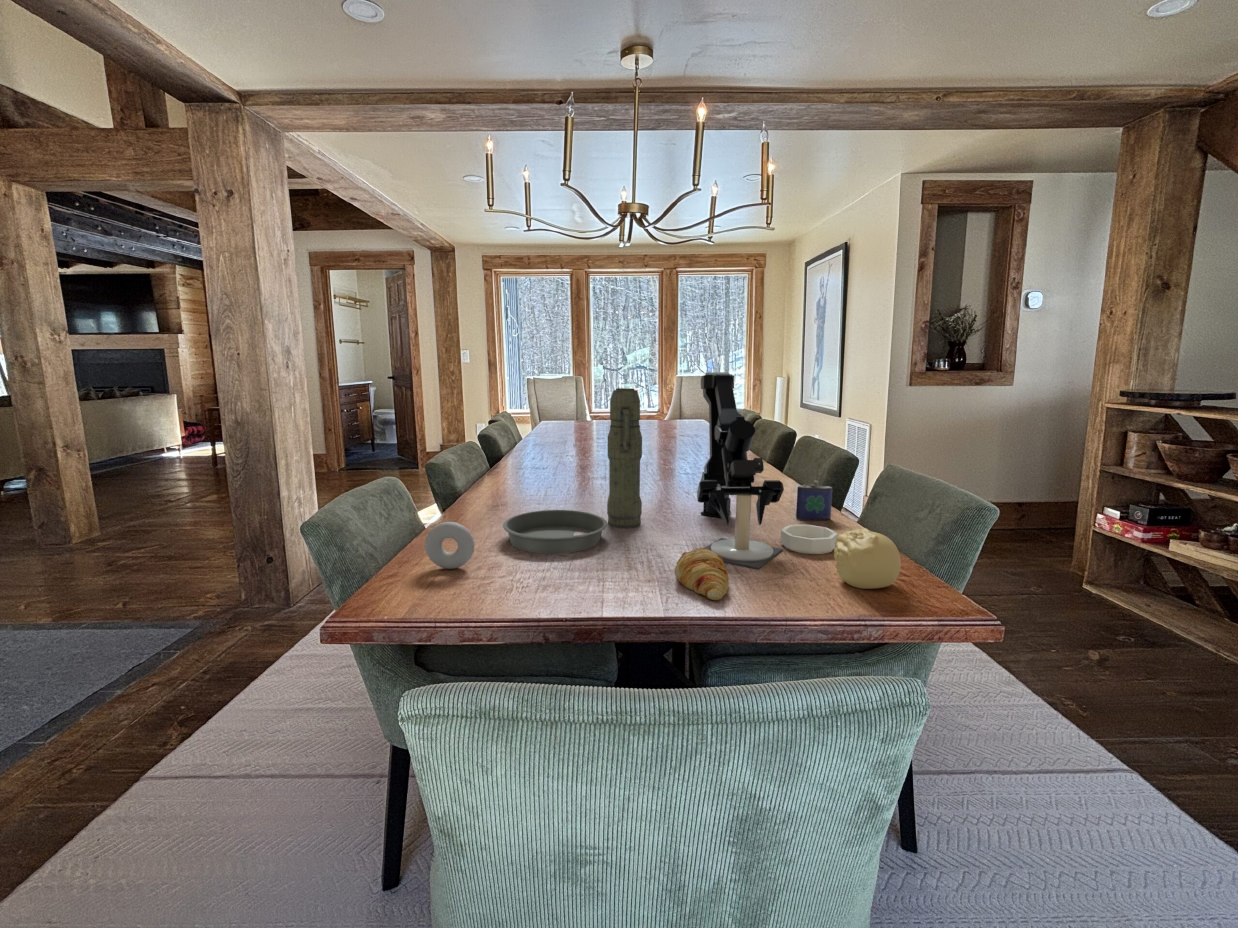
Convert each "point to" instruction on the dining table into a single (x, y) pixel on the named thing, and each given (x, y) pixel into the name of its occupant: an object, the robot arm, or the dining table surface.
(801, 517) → the flask
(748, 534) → the lid
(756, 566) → the mat
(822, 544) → the bowl
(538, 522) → the cake pan
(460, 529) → the donut
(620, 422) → the thermos
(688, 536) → the dining table surface
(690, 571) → the croissant
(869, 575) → the sculpture
